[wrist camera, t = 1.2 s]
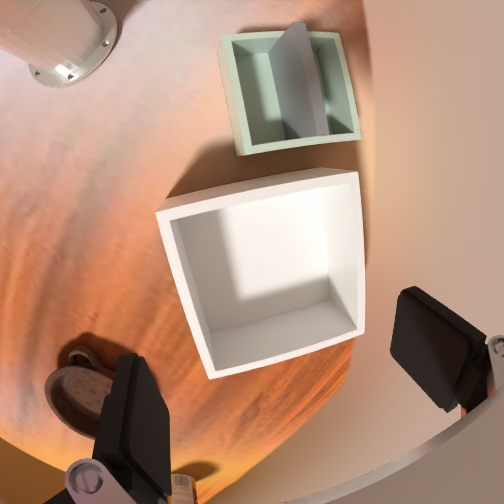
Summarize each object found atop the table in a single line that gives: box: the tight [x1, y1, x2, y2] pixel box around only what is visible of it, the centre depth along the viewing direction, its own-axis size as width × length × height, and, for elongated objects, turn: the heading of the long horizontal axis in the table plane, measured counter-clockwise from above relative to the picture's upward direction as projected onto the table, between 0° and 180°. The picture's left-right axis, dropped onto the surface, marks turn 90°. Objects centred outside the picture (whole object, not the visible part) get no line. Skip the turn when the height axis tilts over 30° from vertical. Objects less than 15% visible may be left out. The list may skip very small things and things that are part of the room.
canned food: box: [167, 473, 198, 504], centre depth 44 cm, size 8×8×12 cm
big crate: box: [156, 167, 365, 379], centre depth 32 cm, size 19×19×9 cm
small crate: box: [217, 22, 362, 156], centre depth 26 cm, size 13×13×10 cm
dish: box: [44, 346, 115, 440], centre depth 36 cm, size 18×22×5 cm
